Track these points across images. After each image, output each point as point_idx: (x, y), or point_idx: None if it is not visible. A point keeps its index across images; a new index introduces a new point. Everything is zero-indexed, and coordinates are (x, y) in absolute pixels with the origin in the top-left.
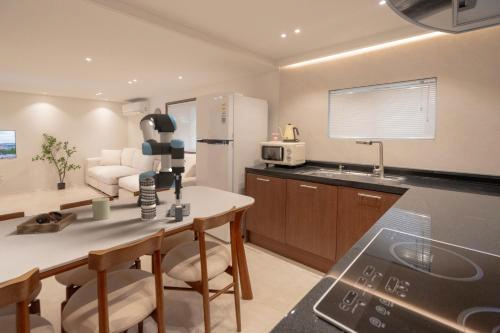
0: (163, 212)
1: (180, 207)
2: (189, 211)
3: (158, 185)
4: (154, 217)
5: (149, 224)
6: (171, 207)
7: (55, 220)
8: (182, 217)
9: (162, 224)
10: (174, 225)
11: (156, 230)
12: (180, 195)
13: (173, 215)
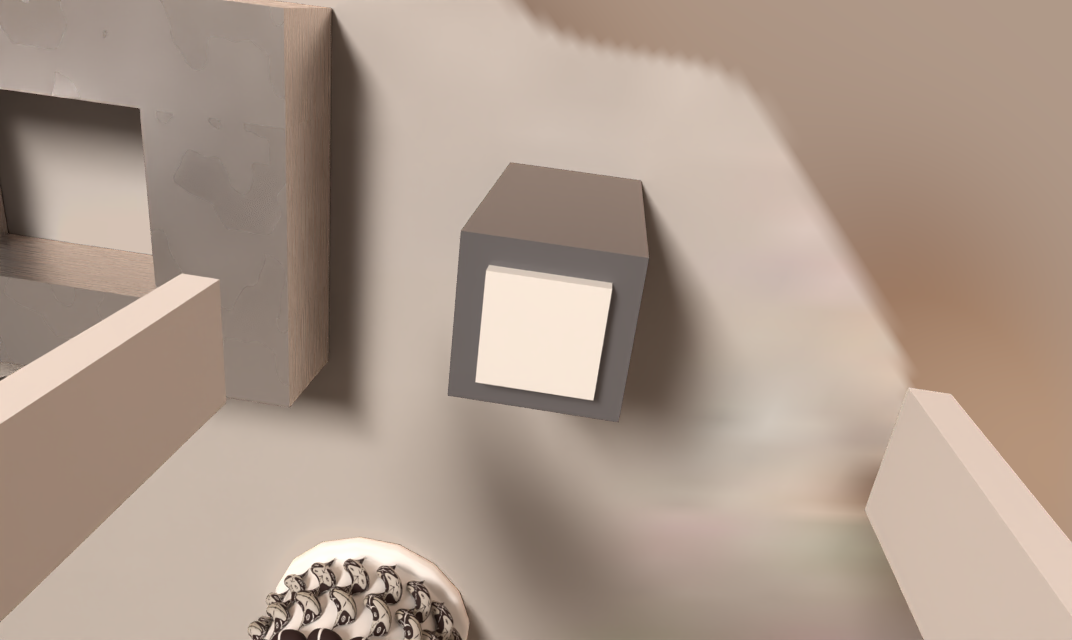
0: None
1: (610, 300)
2: (297, 14)
3: None
4: (400, 575)
5: (634, 623)
6: None
7: None
8: (641, 197)
9: (699, 483)
10: (823, 329)
11: None
12: (147, 369)
13: (324, 313)
